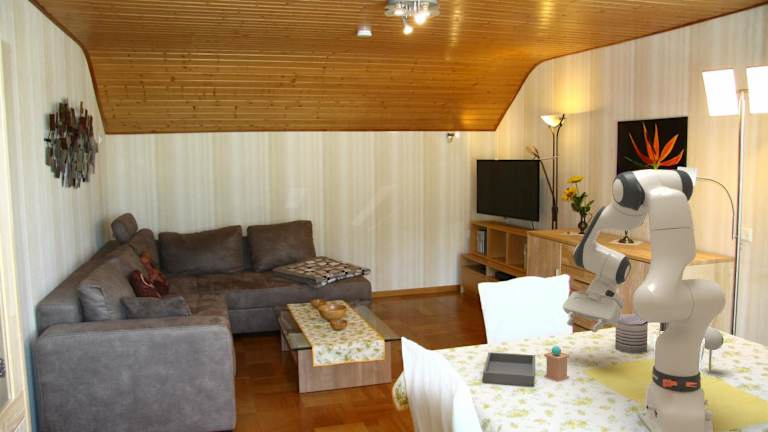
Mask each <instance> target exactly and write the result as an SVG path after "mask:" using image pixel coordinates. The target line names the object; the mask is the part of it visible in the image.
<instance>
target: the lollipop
mask: <svg viewBox="0 0 768 432" xmlns="http://www.w3.org/2000/svg"><path fill="white" fill-rule="evenodd" d="M703 338H705V348H704V349H706V350H708V351H709V352H708V353H709V354H708V373H709V374H711V371H712V354H713V353H712V352H713V351H716V350H718V349H720V348H721V347H722V346H723V344H724V336H723V334H722V332H720V330H718V329H716V328H714V327H708V328H707V330H706V332H705V335H704V337H703Z"/></svg>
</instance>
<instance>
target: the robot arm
mask: <svg viewBox="0 0 768 432" xmlns="http://www.w3.org/2000/svg"><path fill="white" fill-rule="evenodd" d="M611 189H612V200H611V202H610V204H608V205H607V206H602V207H600V208H599V209H598V211H596V214H595V215H594V217H593V218H592V220H591V222H590V223H589V225H588V227H587V229H586V230H585V233H584V235H583V236H582V238H581V240H580V241H579V243H578V244H577V245H576V247H575V248H574V250H573V255H572V259H573V262H574V264H575V266H577V268H581V269H583V270H588V271H589V272H592V273H593V274H596V275H595V277H594V278H593V279H592V280H591V282H590V283H589V285H588V287H587V289H586V291H582V290H576V291H573V292H571V294H570V295H569V296H568V297H567V299H566V300H565V301H564V303H563V304H562V309H563V311H564V312H565V313H566V314H568V320H567V322H566V324H567V325H568V326H571V327H573V326H574V325H575V321H574V318H576V317H580V318H584V319H587V320H590V321H591V320H592V321H596V322H597V323H595V324H592V325H591V327H590V329H589V330H590V331H591V332H592V333H597V331H598V330H599V329H601V328H602V327H604V326H605V324H606V325H607V324H608V325H611V326H613V325H616V323H617V322H618V320H619V318H620V316H621V315H622V313H623V309H624V307H625V305H626V304H625V302H624V301H623V299H622V297H620V294H618V293H617V290H618V288H619V287H621V285H622V283H624V282H625V281H626V280H627V278H628V276H629V275H630V272H631V270H632V264H631V262H630V258H629V257H628V256H627V255H625V254H624V253H621V252H619V251H617V250H614V249H611V248H609V247H606V246H605V245H603V244H600V243H598V242H597V238H598V237H599V235H600V233H601V231H603V230H615V231H627V232H628V231H632V230H634V229H636V228H639V227H640V226H641V225H642V224H644V222H645V220H646V218H647V216H648V227H649V228H648V230H649V238H650V264H649V269H648V272H647V274H646V277H645V278H644V280H643V281H642V283H641V284H640V285H639V286H638V287H637V288H636V290H635V291H634V292H633V296H632V307H633V310H634V311H635V314H637V315H638V316H639V317H640V318H641V319H642V320H644V321H647V322H649V323H650V322H651V323H657V324H660V323H666V322H671V323H670V325H669V326H668V328H667V329H666V330H665V331H664V332H663V333H662V334H660V333H659V334H658V335H659V336H657V338H656V340H655V344H654V347H655V348H654V365H653V367H652V371H651V375H652V377H651V380H652V381H651V383H650V384H649V385H647V386H646V387H645V398H644V399H645V400H644V409H642V410H639V411H638V412H637V416H638V417H639V419H640V420H641V422H643V424H644V425H645V426H646V428H647V429H648V430H649V432H714V428H713V427H714V425H713V418H712V411H713V410H712V409H708V408H707V409H706V408H705V406H708V404H709V400H708V399H705V390H704V389H702V385H701V383H702V377H701V371H700V357H701V347H702V345H701V343H702V340H703V337H704V335H705V332H706V330H707V328H710V327H709V326H710V325H711V323H712V322H713V321H714V319H715V318H717V316H718V315H720V313H721V314H722V312H723V310H724V309H725V306H726V302H727V301H726V299H727V298H726V295H725V291H724V289H723V288H722V286H721V285H720V284H719V283H718V282H716V281H714V280H709V279H702V278H690V279H689V278H688V279H684V278H683V277H684V272H685V270H686V268H687V266H688V265H690V264H691V263H692V262H693V261H694V260H695V258H696V256H697V248H696V247H697V246H696V245H697V244H696V237H695V230H694V229H695V228H694V222H693V216H692V211H691V207H690V203H689V201H690V200H691V198H692V196H693V193H694V183H693V180H692V178H691V176H690V174H689V173H688V172H687V171H685V170H682V169H653V168H650V169H639V170H634V171H631V170H628V171H624V172H621V173H619V174H617V175H616V176H615V178H614V179H613V181H612V188H611Z"/></svg>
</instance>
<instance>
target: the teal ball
mask: <svg viewBox="0 0 768 432" xmlns="http://www.w3.org/2000/svg"><path fill="white" fill-rule="evenodd" d="M551 352H552V353H553V354H554V355H556V356H557V355H560V353H561V352H562V349H561V347H560V346H559V345H555V346H553V347H552V348H551Z"/></svg>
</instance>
